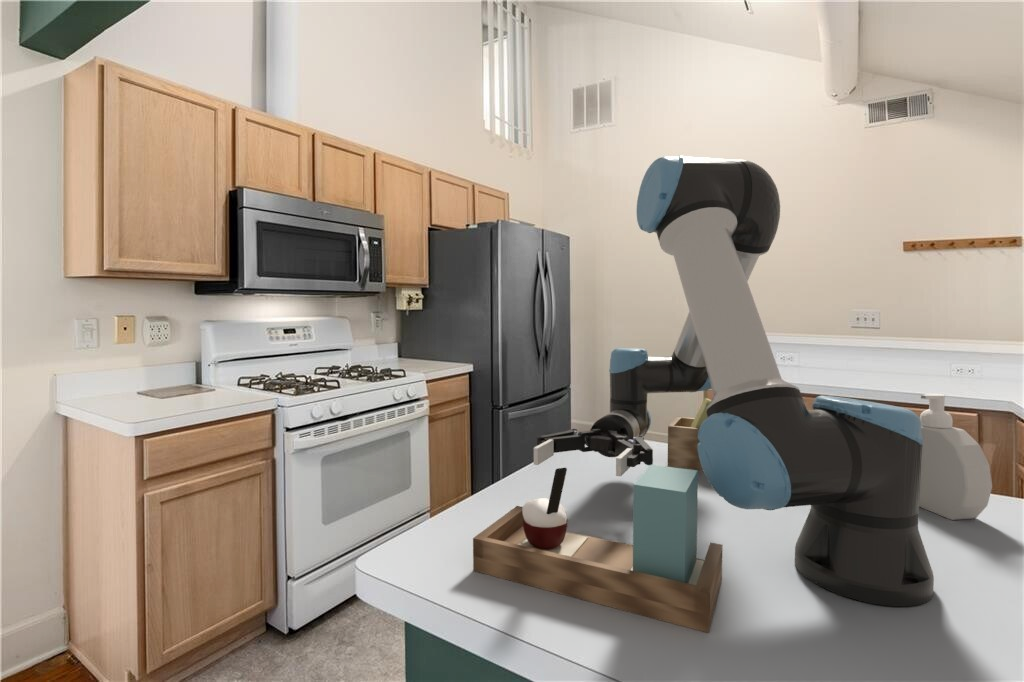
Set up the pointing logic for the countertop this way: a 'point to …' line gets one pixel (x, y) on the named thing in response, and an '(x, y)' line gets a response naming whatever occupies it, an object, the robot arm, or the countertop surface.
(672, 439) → the part holder
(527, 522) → the cocoa
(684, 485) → the teal carton
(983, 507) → the soap bottle
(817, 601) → the countertop surface
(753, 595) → the countertop surface
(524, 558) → the tray
